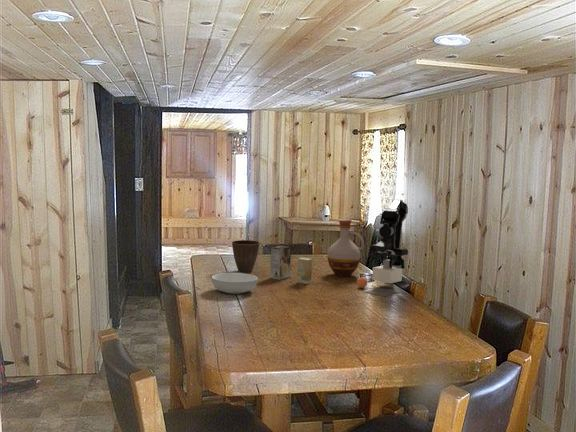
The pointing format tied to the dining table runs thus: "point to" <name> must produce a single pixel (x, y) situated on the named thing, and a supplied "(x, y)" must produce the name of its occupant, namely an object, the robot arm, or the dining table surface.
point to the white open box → (387, 273)
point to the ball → (361, 282)
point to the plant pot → (245, 254)
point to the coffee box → (280, 262)
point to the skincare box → (304, 270)
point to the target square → (382, 292)
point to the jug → (344, 252)
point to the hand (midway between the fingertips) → (387, 267)
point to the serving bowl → (234, 282)
